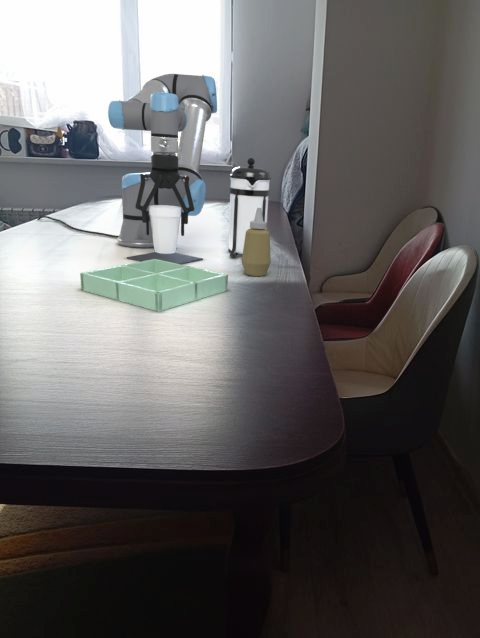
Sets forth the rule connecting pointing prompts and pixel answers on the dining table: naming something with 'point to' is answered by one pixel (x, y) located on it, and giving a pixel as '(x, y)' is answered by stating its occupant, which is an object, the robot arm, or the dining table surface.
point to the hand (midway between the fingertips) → (165, 234)
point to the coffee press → (246, 202)
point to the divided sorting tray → (154, 283)
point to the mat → (166, 257)
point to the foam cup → (165, 227)
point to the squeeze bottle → (257, 247)
